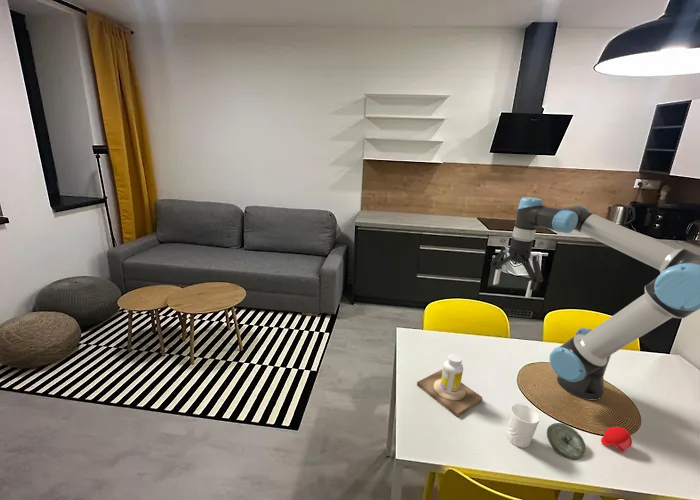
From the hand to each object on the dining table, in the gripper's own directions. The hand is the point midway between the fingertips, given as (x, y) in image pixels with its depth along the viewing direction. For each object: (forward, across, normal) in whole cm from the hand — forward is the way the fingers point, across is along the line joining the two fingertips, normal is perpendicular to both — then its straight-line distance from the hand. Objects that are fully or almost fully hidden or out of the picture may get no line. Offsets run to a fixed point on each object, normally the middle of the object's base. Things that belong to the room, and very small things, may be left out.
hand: (511, 290), depth 139 cm
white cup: (+32, -28, +33) cm, 54 cm away
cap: (+32, -46, +9) cm, 57 cm away
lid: (+32, -37, +23) cm, 54 cm away
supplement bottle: (+30, -3, +35) cm, 46 cm away
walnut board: (+32, -3, +35) cm, 47 cm away
